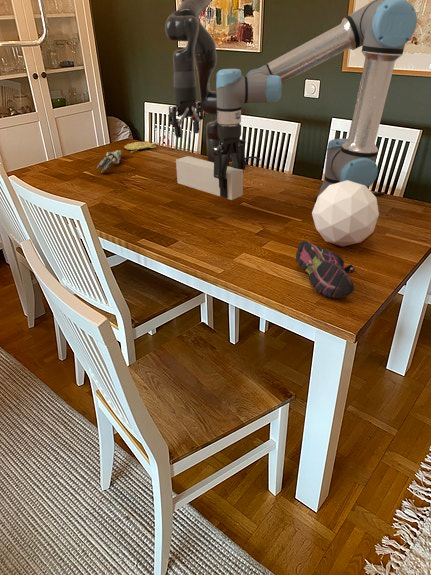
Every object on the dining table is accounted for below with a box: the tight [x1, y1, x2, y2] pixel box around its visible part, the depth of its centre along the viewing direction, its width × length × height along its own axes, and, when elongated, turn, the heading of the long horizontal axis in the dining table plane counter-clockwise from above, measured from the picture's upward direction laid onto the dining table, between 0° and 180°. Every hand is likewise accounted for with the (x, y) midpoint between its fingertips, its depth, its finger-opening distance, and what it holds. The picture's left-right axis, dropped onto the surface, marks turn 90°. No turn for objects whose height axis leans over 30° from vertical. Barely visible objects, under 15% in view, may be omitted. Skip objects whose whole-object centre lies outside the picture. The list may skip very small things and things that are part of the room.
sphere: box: [311, 180, 380, 248], centre depth 135 cm, size 19×20×20 cm
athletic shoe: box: [295, 240, 357, 299], centre depth 118 cm, size 11×22×12 cm
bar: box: [175, 155, 244, 201], centre depth 155 cm, size 27×6×9 cm, turn 47°
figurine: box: [96, 150, 123, 174], centre depth 213 cm, size 7×8×30 cm
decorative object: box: [124, 141, 157, 154], centre depth 239 cm, size 21×2×20 cm
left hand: (187, 135), depth 157 cm, fingers open, 8 cm apart
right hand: (230, 194), depth 151 cm, fingers closed on bar, 6 cm apart
